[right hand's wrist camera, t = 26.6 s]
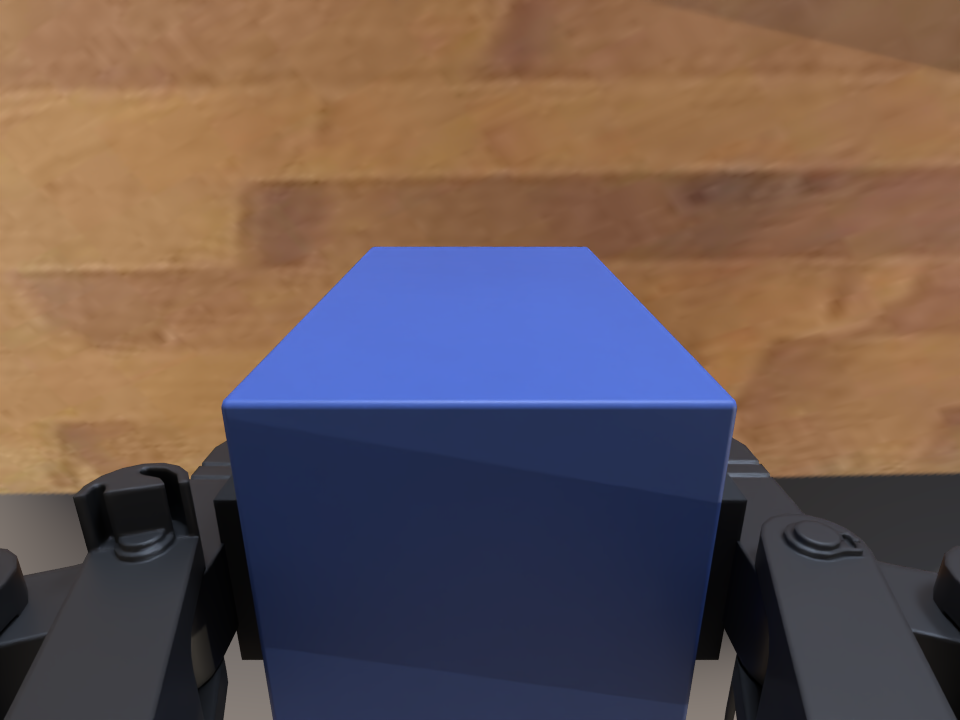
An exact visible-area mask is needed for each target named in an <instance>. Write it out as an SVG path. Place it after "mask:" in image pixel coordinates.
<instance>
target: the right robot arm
mask: <svg viewBox="0 0 960 720" xmlns="http://www.w3.org/2000/svg"><path fill="white" fill-rule="evenodd" d="M73 499H74V503H75V506H76V510H77V514H78V517H79V521H80V524H81V528H82V531H83V535H84V539H85V543H86V546H87V550H88V554H87V556H86V558H85V560H84V562H83V563H82V564H78V565H74V566H70V567H65V568H60V569H55V570H50V571H45V572H40V573H35V574H29V575H24V576H23V574H22V571H21V568H20V564H19V561H18V558H17V556H16V555H15V554H13V553H12V552H10V551H9V550H8V549H0V720H223V718H224V710H225V702H226V694H227V686H228V678H227V671H226V666H225V660H224V655H225V653H226V651H227V649H228V647H229V645H230V643H231V641H232V639H233V637H234V635H235V632H236V631H237V635H238V641H239V646H240V652H241V657H242V660H263V656H262V650H261V644H260V637H259V631H258V625H257V619H256V613H255V607H254V601H253V595H252V589H251V583H250V577H249V571H248V565H247V559H246V553H245V547H244V541H243V535H242V529H241V523H240V517H239V511H238V505H237V499H236V493H235V487H234V481H233V475H232V469H231V463H230V457H229V451H228V445H227V441H225V442H224V443H222V444H220V445H219V446H217V447H215V449H214V450H213V451H212V452H211V453H210V454H209V456H208V457H207V458H206V459H205V460H204V462H203V463H202V466H199V467H198V469H197V470H196V471H195V472H194V473H193V474H192V476H191V479H189V476H188V472H187V471H185V470H184V469H183V468H181V467H180V466H177V465H172V464H167V463H150V464H140V465H136V466H131V467H126V468H122V469H119V470H116V471H114V472H111V473H108V474H105V475H103V476H101V477H99V478H97V479H95V480H94V481H92V482H90V483H89V484H87V485H85V486H84V487H83V488H82V489H81V490H80V491H79V492H78V493H77V494H76V495H75V496H74V497H73ZM724 629H725V631H726V633H727V635H728V637H729V639H730V641H731V643H732V645H733V647H734V649H735V651H736V653H737V655H736V661H735V666H734V671H733V676H732V681H731V686H730V691H729V697H728V701H727V707H726V713H725V720H733V719H734V714H735V711H736V716H737V720H960V546H955V547H953V548H951V549H950V550H949V551H947V552H946V553H945V554H944V557H943V560H942V563H941V566H940V569H939V572H938V573H935V572H930V571H925V570H920V569H914V568H909V567H904V566H899V565H894V564H889V563H885V562H881V561H877V560H876V559H875V557H874V555H873V553H872V551H871V550H870V549H869V547H868V546H867V545H866V544H865V543H864V541H863V540H862V539H861V538H859V537H858V536H856V535H855V534H854V533H852V532H850V531H849V530H848V529H846V528H844V527H842V526H840V525H837V524H835V523H833V522H830V521H828V520H826V519H822V518H818V517H814V516H810V515H806V514H804V513H803V512H802V511H801V510H800V509H799V507H798V506H797V505H796V504H795V503H794V502H793V500H792V499H791V498H790V497H789V496H788V495H787V493H786V492H785V491H784V490H783V489H782V488H781V486H780V485H779V484H778V483H777V482H776V481H775V479H774V478H773V477H770V474H769V472H768V471H767V470H766V469H765V468H764V467H763V465H762V464H759V461H758V460H757V458H756V457H755V456H754V455H753V454H752V453H751V451H750V450H749V449H748V448H747V447H746V446H745V445H744V444H742V443H740V442H739V441H737V440H735V439H734V438H732V441H731V447H730V454H729V460H728V466H727V472H726V478H725V484H724V490H723V496H722V502H721V508H720V514H719V520H718V526H717V532H716V538H715V544H714V550H713V557H712V563H711V569H710V575H709V581H708V587H707V593H706V599H705V605H704V611H703V617H702V623H701V629H700V635H699V641H698V647H697V654H696V660H718V659H719V654H720V648H721V643H722V637H723V632H724Z"/></svg>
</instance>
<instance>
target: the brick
mask: <svg viewBox="0 0 960 720" xmlns="http://www.w3.org/2000/svg"><path fill="white" fill-rule="evenodd" d="M736 411H737V405H736V402H735V400H734V399H733V398H732V397H731V396H730V395H729V394H728V393H727V392H726V391H725V390H724V389H723V388H722V387H721V386H720V385H719V383H718V382H717V381H716V380H715V379H714V378H713V377H712V376H711V375H710V374H709V373H708V372H707V371H706V370H705V369H704V368H703V367H702V366H701V365H700V364H699V363H698V362H697V361H696V360H695V359H694V358H693V356H692V355H691V354H690V353H689V352H688V351H687V350H686V349H685V348H684V347H683V346H682V345H681V344H680V343H679V342H678V341H677V340H676V339H675V338H674V337H673V336H672V335H671V334H670V333H669V332H668V331H667V329H666V328H665V327H664V326H663V325H662V324H661V323H660V322H659V321H658V320H657V319H656V318H655V317H654V316H653V315H652V314H651V313H650V312H649V311H648V310H647V309H646V308H645V307H644V306H643V305H642V304H641V302H640V301H639V300H638V299H637V298H636V297H635V296H634V295H633V294H632V293H631V292H630V291H629V290H628V289H627V288H626V287H625V286H624V285H623V284H622V283H621V282H620V281H619V280H618V279H617V278H616V277H615V275H614V274H613V273H612V272H611V271H610V270H609V269H608V268H607V267H606V266H605V265H604V264H603V263H602V262H601V261H600V260H599V259H598V258H597V257H596V256H595V255H594V254H593V253H592V252H591V251H590V250H589V248H587V247H373V248H371V249H370V250H369V251H368V252H367V253H366V254H365V255H364V256H363V257H362V258H361V259H360V260H359V261H358V262H357V263H356V264H355V265H354V266H353V268H352V269H351V270H350V271H349V272H348V273H347V274H346V275H345V276H344V277H343V278H342V279H341V280H340V281H339V282H338V283H337V284H336V285H335V286H334V287H333V288H332V289H331V290H330V291H329V292H328V293H327V294H326V295H325V296H324V297H323V298H322V299H321V301H320V302H319V303H318V304H317V305H316V306H315V307H314V308H313V309H312V310H311V311H310V312H309V313H308V314H307V315H306V316H305V317H304V318H303V319H302V320H301V321H300V322H299V323H298V324H297V325H296V326H295V327H294V328H293V329H292V330H291V331H290V332H289V333H288V335H287V336H286V337H285V338H284V339H283V340H282V341H281V342H280V343H279V344H278V345H277V346H276V347H275V348H274V349H273V350H272V351H271V352H270V353H269V354H268V355H267V356H266V357H265V358H264V359H263V360H262V361H261V362H260V363H259V364H258V365H257V366H256V368H255V369H254V370H253V371H252V372H251V373H250V374H249V375H248V376H247V377H246V378H245V379H244V380H243V381H242V382H241V383H240V384H239V385H238V386H237V387H236V388H235V389H234V390H233V391H232V392H231V393H230V394H229V395H228V396H227V397H226V398H225V399H224V400H223V403H222V414H223V420H224V426H225V432H226V439H227V445H228V451H229V457H230V463H231V469H232V475H233V481H234V487H235V493H236V499H237V505H238V511H239V517H240V523H241V529H242V535H243V541H244V547H245V553H246V559H247V565H248V571H249V577H250V583H251V589H252V595H253V601H254V607H255V613H256V619H257V625H258V631H259V637H260V644H261V650H262V656H263V661H264V668H265V673H266V679H267V686H268V692H269V698H270V704H271V710H272V716H273V720H686V714H687V708H688V702H689V696H690V690H691V684H692V678H693V671H694V666H695V660H696V654H697V647H698V641H699V635H700V629H701V623H702V617H703V611H704V605H705V599H706V593H707V587H708V581H709V575H710V569H711V563H712V557H713V550H714V544H715V538H716V532H717V526H718V520H719V514H720V508H721V502H722V496H723V490H724V484H725V478H726V472H727V466H728V460H729V454H730V447H731V441H732V435H733V429H734V423H735V417H736Z"/></svg>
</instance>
